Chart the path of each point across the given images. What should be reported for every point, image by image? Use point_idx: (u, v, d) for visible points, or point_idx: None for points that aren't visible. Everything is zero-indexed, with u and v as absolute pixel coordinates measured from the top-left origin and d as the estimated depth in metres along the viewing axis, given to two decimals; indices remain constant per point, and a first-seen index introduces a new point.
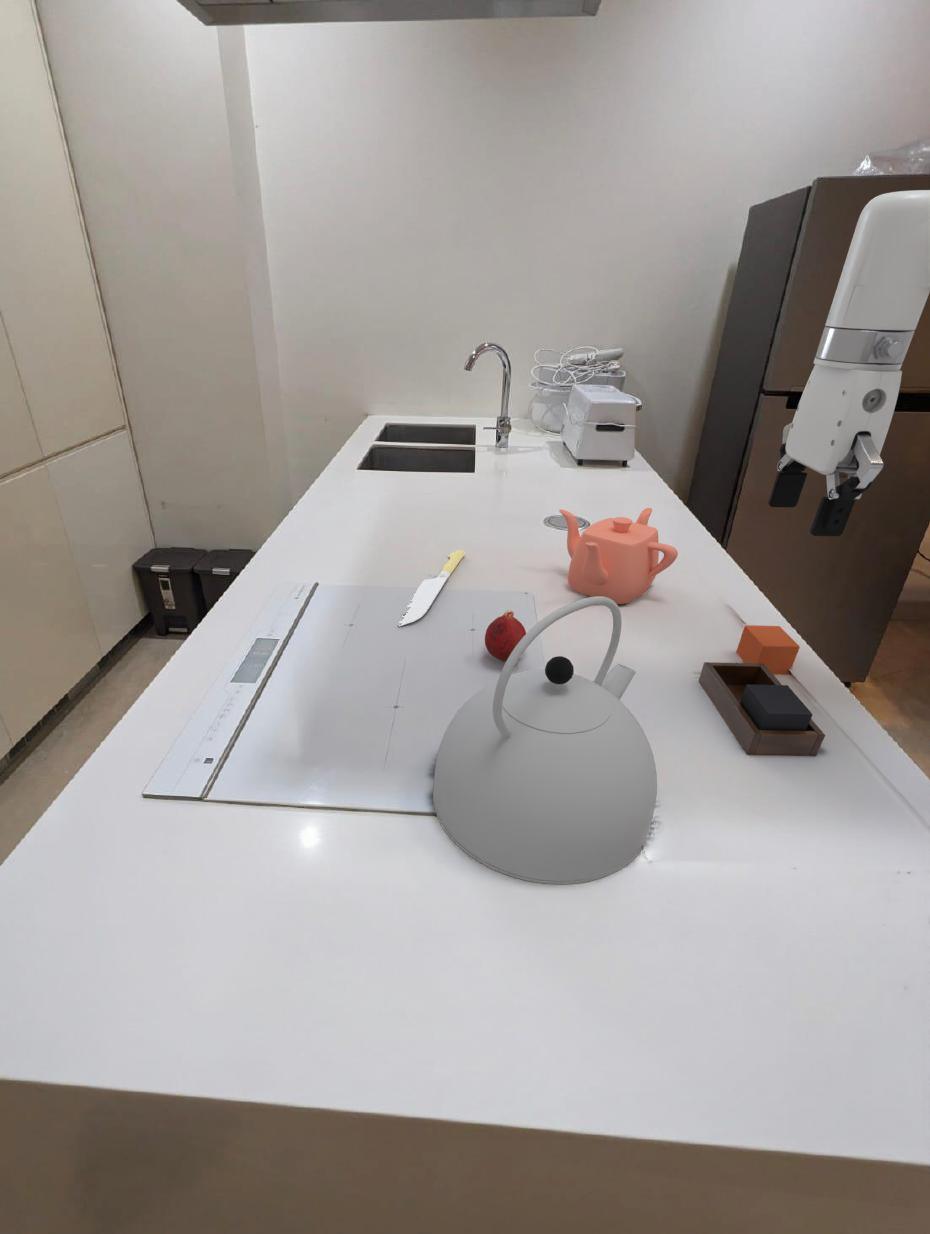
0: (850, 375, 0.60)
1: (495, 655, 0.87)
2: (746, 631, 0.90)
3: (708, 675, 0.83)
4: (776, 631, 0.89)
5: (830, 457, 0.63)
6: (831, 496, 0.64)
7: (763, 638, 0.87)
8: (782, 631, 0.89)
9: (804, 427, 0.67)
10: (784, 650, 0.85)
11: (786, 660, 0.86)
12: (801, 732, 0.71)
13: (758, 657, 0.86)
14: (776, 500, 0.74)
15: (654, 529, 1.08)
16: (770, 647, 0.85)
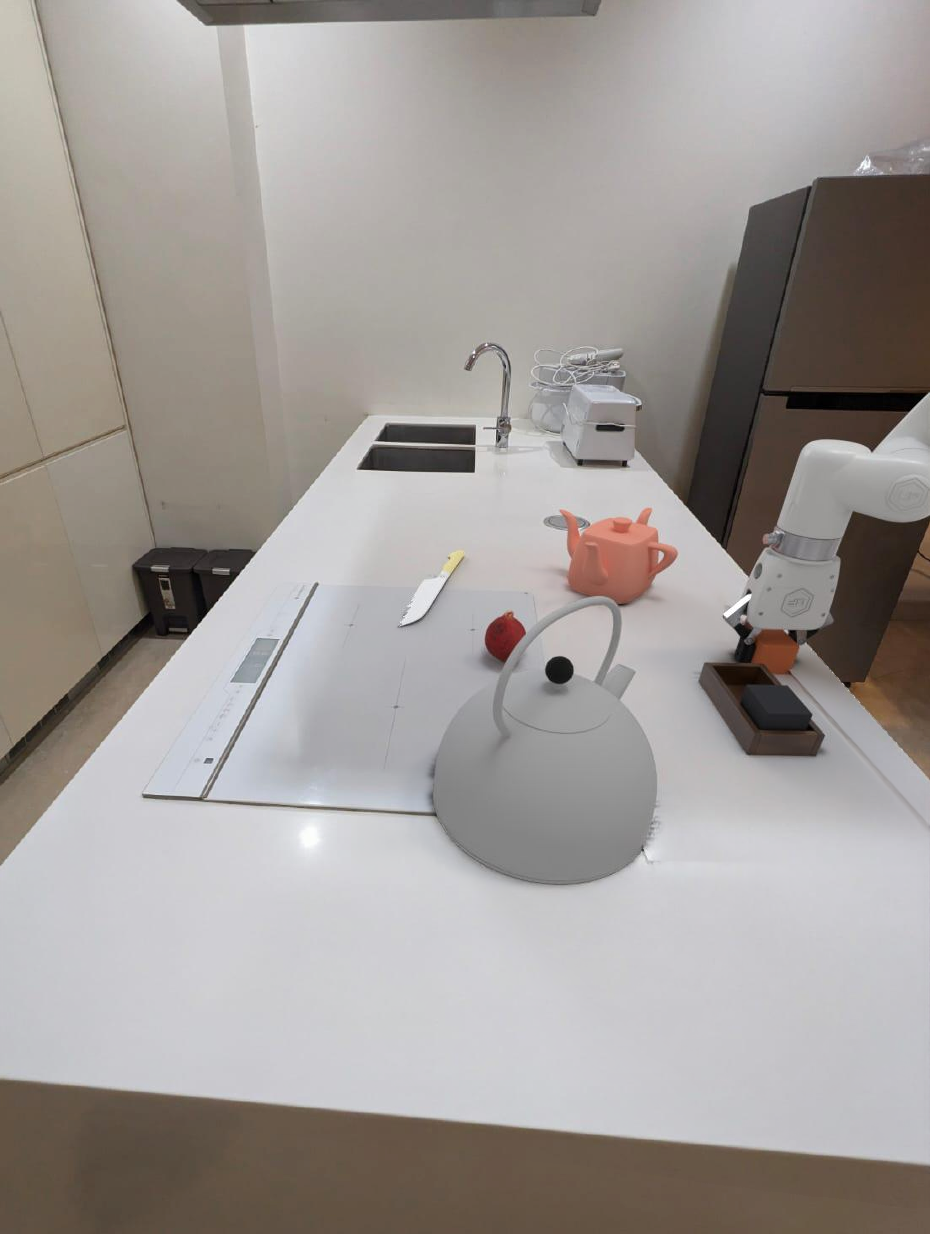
0: None
1: (495, 655, 0.87)
2: None
3: (708, 675, 0.83)
4: (776, 631, 0.89)
5: None
6: None
7: (763, 638, 0.87)
8: (782, 631, 0.89)
9: None
10: (784, 650, 0.85)
11: (786, 660, 0.86)
12: (801, 732, 0.71)
13: (758, 657, 0.86)
14: None
15: (654, 529, 1.08)
16: (770, 647, 0.85)
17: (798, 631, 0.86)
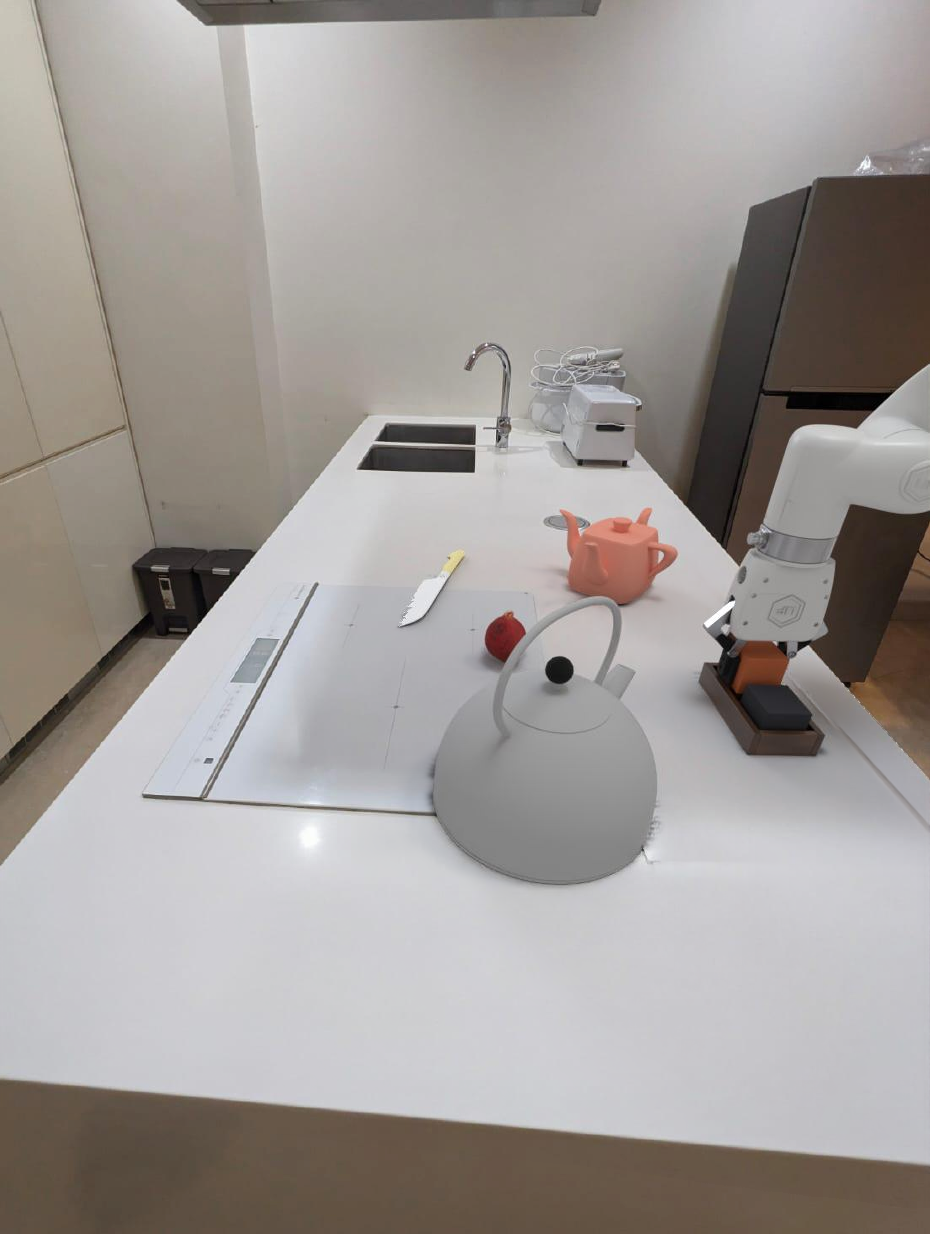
0: None
1: (495, 655, 0.87)
2: None
3: (708, 675, 0.83)
4: (763, 643, 0.79)
5: None
6: None
7: (748, 650, 0.77)
8: (770, 642, 0.79)
9: None
10: (772, 664, 0.76)
11: (774, 676, 0.77)
12: (801, 732, 0.71)
13: (743, 672, 0.77)
14: None
15: (654, 529, 1.08)
16: (756, 661, 0.76)
17: (788, 643, 0.76)
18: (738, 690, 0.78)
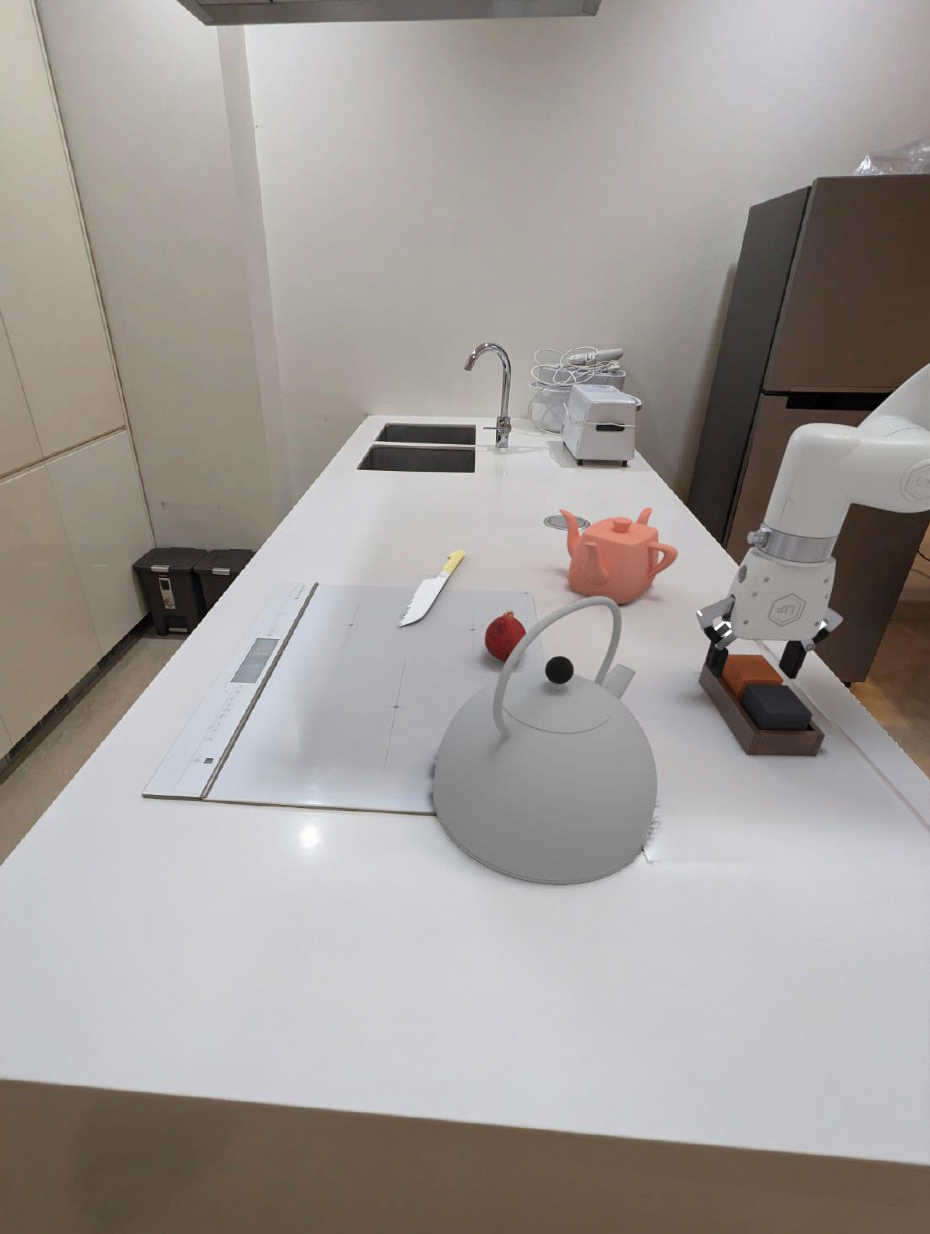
0: None
1: (495, 655, 0.87)
2: None
3: (708, 675, 0.83)
4: (758, 662, 0.80)
5: None
6: None
7: (743, 670, 0.79)
8: (765, 661, 0.80)
9: None
10: (766, 683, 0.77)
11: None
12: (801, 732, 0.71)
13: (738, 691, 0.78)
14: (781, 663, 0.80)
15: (654, 529, 1.08)
16: (751, 681, 0.77)
17: None
18: None
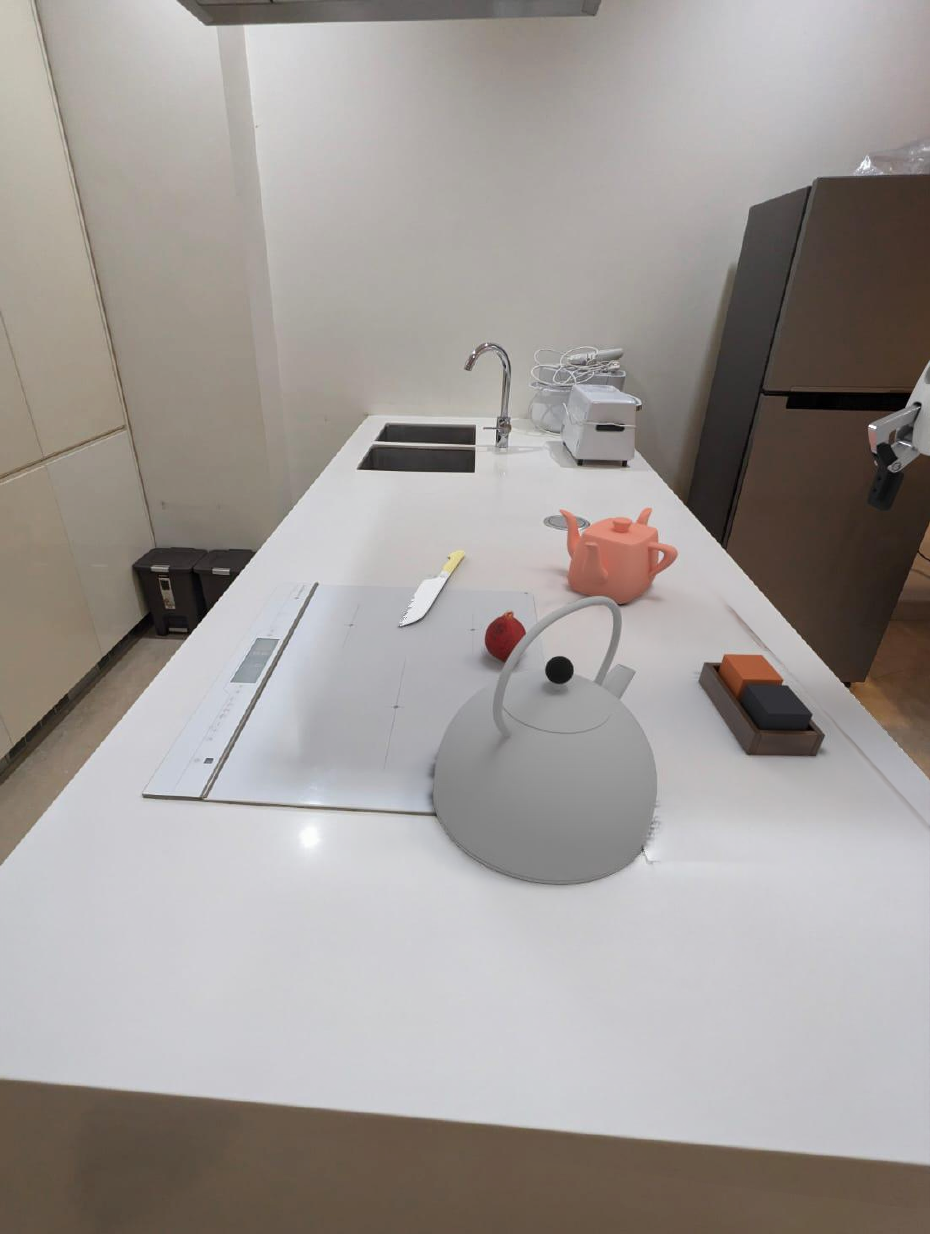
0: None
1: (495, 655, 0.87)
2: (725, 661, 0.81)
3: (708, 675, 0.83)
4: (758, 662, 0.80)
5: None
6: None
7: (743, 670, 0.79)
8: (765, 661, 0.80)
9: None
10: (766, 683, 0.77)
11: None
12: (801, 732, 0.71)
13: (738, 691, 0.78)
14: None
15: (654, 529, 1.08)
16: (751, 681, 0.77)
17: None
18: None
